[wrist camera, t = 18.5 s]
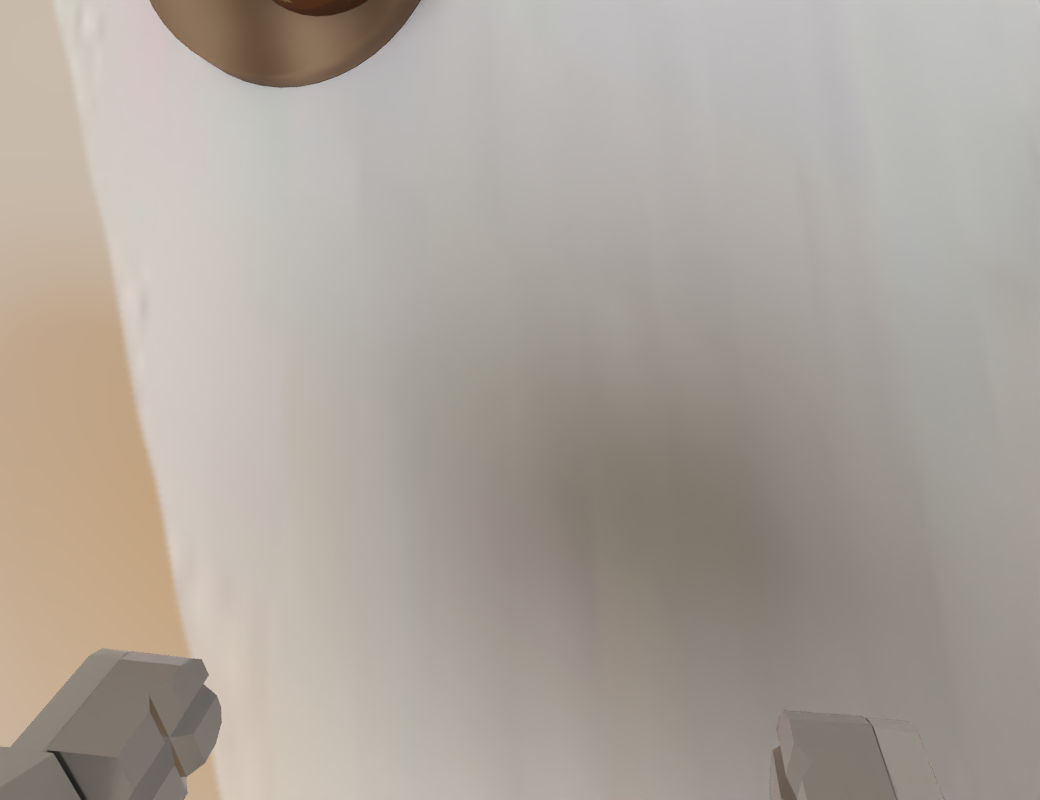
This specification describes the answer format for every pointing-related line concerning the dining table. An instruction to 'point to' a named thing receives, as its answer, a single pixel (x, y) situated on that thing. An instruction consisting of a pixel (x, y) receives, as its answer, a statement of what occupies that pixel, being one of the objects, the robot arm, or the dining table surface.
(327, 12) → the food container
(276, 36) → the walnut trivet
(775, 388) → the dining table surface
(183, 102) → the dining table surface
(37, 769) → the robot arm
